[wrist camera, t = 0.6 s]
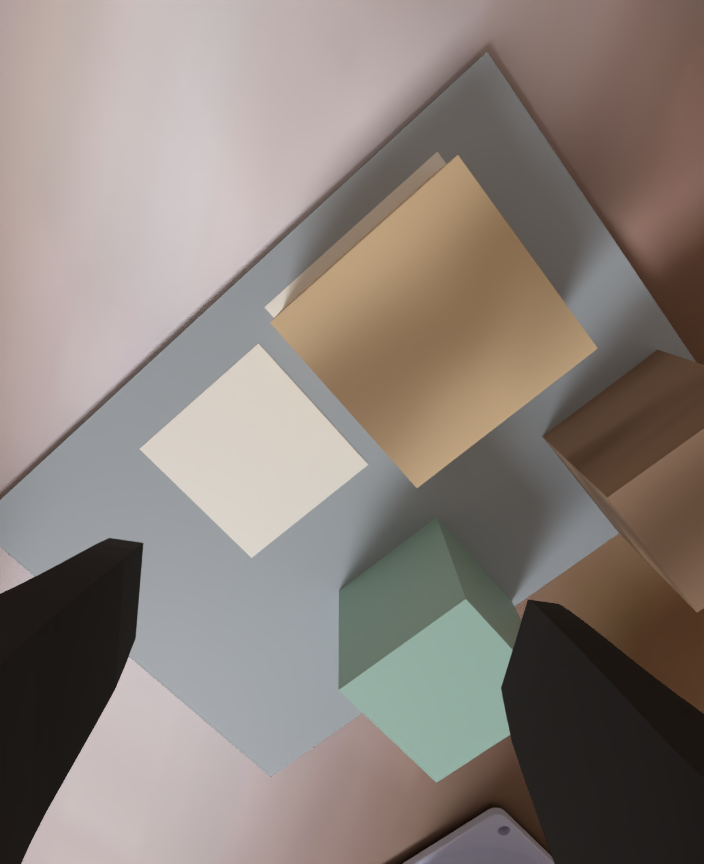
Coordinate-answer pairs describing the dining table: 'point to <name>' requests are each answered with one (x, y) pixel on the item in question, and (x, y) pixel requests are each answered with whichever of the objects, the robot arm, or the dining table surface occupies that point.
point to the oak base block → (435, 325)
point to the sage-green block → (428, 650)
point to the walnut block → (647, 464)
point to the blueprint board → (330, 447)
